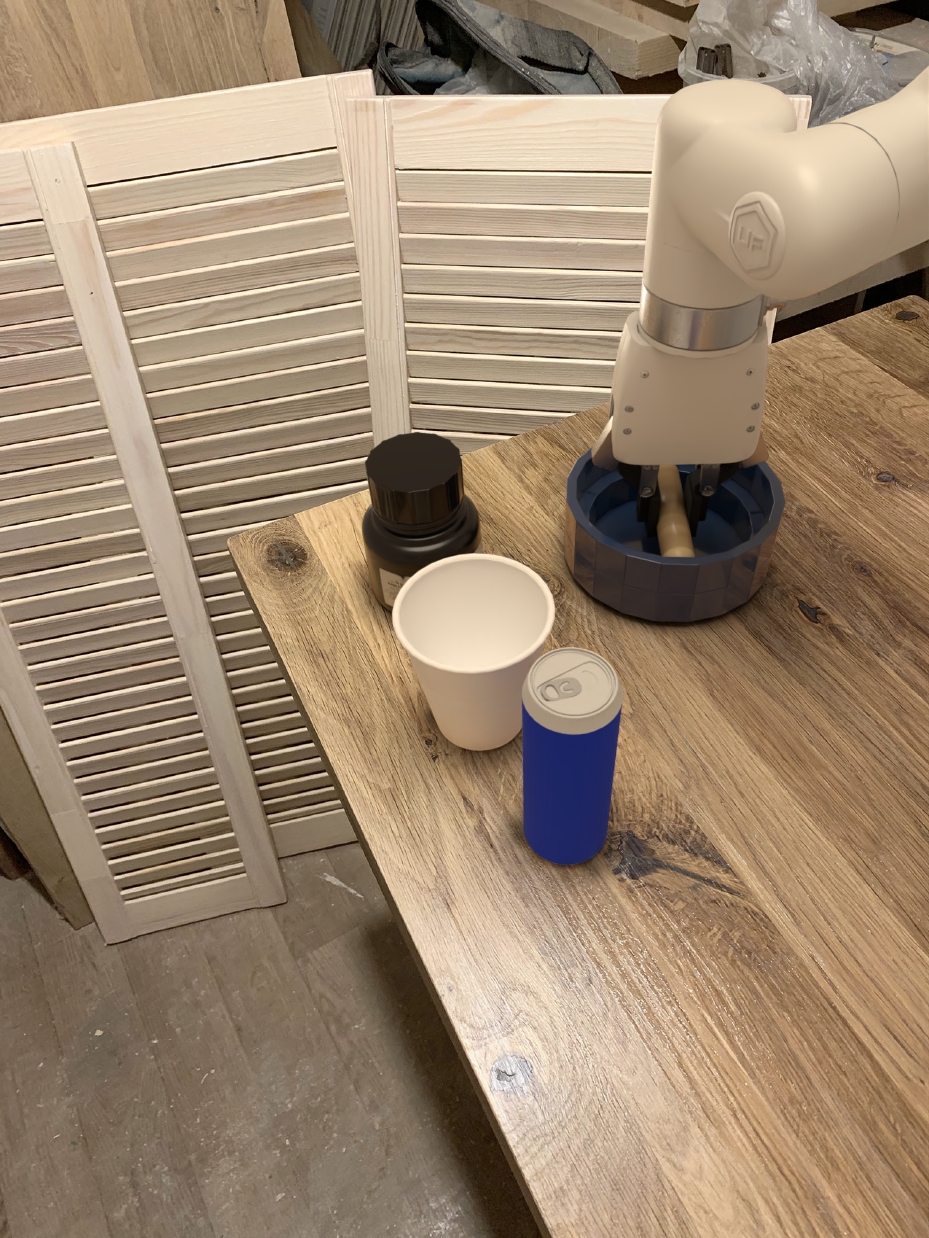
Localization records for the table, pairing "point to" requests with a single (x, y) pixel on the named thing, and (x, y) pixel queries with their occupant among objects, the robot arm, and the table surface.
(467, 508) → the ink bottle
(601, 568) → the bowl
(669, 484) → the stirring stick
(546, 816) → the beverage can
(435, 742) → the table surface
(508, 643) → the cup
